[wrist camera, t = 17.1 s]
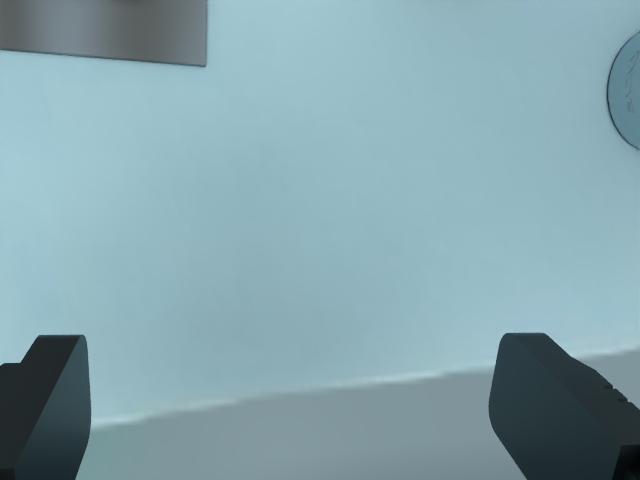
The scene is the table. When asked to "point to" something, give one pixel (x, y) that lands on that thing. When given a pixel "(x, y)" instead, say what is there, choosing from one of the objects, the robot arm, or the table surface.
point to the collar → (108, 29)
